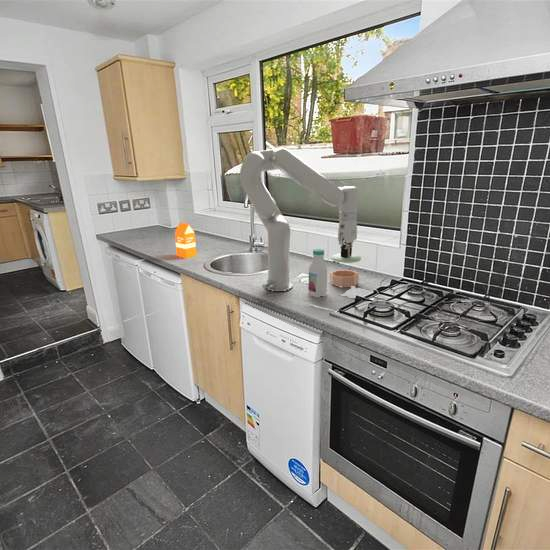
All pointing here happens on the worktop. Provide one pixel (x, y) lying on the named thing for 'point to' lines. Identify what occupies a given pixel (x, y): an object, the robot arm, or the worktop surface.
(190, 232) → the orange juice
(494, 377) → the worktop surface
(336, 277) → the bowl
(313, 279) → the milk bottle
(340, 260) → the lid
